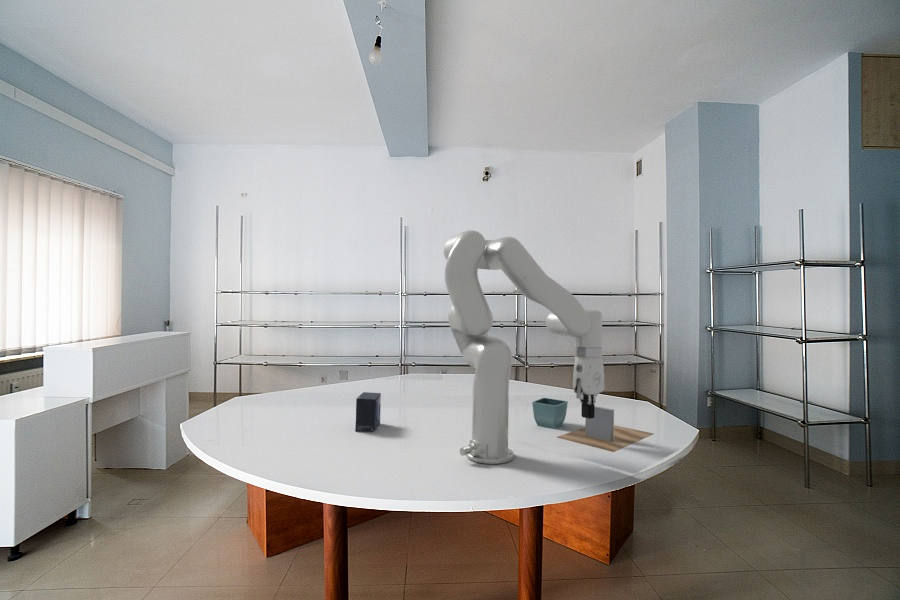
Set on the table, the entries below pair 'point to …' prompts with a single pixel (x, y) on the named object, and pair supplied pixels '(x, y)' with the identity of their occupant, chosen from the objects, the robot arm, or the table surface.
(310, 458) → the table surface
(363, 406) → the small box
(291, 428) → the table surface
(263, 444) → the table surface
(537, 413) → the flower pot
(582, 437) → the board
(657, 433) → the table surface
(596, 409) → the tile
